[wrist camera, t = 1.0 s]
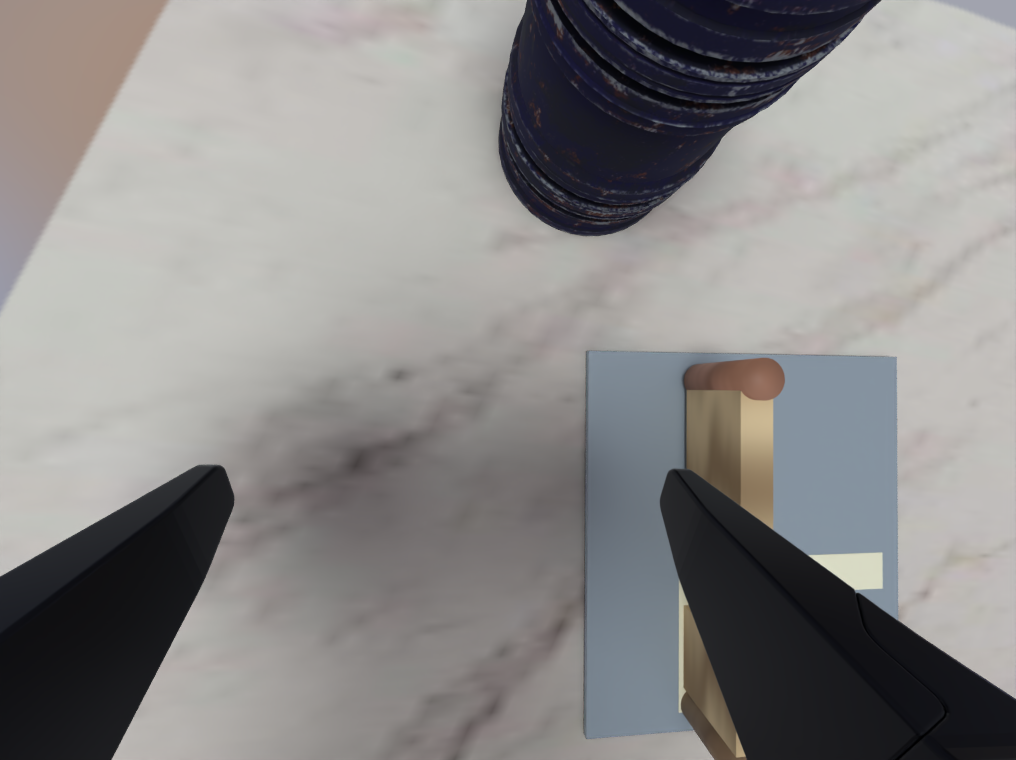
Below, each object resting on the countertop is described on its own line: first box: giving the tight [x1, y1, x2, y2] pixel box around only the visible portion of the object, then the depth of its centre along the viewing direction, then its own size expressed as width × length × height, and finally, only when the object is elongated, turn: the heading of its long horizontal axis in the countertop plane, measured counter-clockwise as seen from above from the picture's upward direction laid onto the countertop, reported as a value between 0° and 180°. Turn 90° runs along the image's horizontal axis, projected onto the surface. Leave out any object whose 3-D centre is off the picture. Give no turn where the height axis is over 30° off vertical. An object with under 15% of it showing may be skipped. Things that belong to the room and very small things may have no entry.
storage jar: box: [499, 0, 881, 236], centre depth 16 cm, size 10×10×15 cm
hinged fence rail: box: [684, 358, 785, 529], centre depth 21 cm, size 12×2×5 cm, turn 0°
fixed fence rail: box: [681, 605, 747, 760], centre depth 21 cm, size 6×2×5 cm, turn 0°
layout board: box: [584, 351, 898, 739], centre depth 24 cm, size 20×18×1 cm
